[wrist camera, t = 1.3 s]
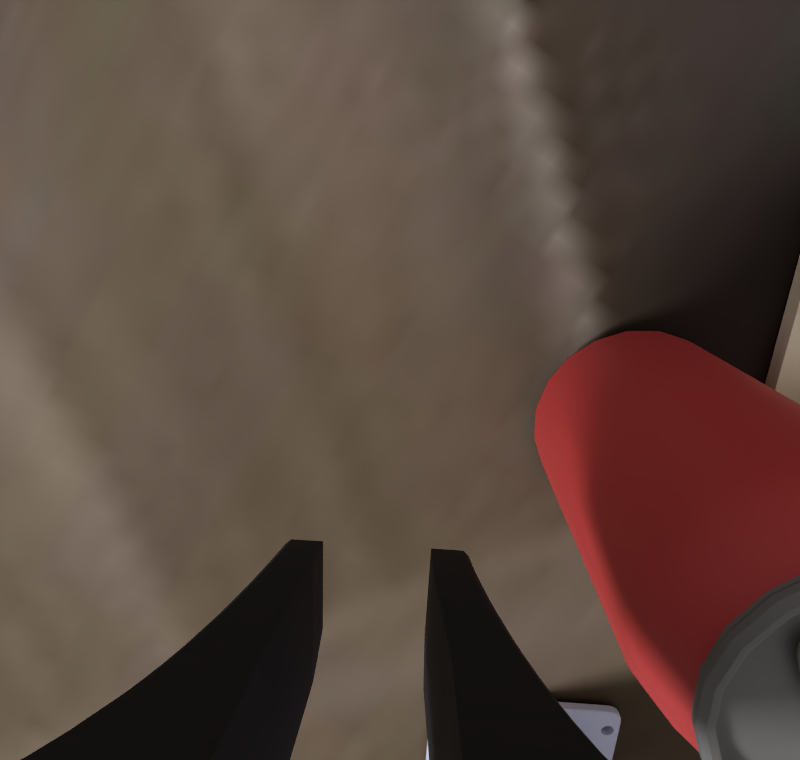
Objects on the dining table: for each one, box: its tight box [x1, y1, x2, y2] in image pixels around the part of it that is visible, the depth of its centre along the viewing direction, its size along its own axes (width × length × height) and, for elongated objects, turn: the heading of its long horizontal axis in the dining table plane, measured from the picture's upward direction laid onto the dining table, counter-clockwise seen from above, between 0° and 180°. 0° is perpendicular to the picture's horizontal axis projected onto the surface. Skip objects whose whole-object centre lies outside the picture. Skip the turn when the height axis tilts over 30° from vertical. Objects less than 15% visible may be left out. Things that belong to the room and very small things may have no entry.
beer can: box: [534, 331, 800, 760], centre depth 14 cm, size 7×7×12 cm
